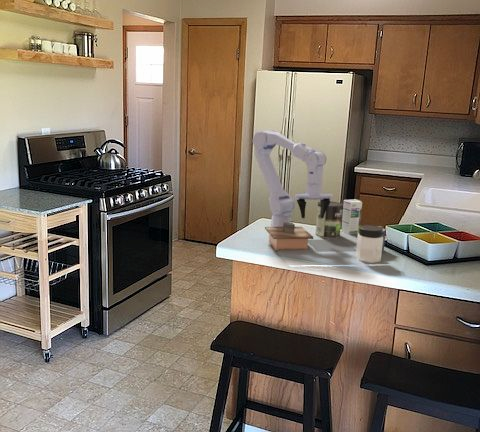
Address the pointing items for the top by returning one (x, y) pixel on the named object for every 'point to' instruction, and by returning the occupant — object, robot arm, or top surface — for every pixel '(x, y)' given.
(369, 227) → the jar
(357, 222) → the syrup box
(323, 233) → the coffee can
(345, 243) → the mat
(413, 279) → the top surface
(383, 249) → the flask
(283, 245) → the dish
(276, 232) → the lid
